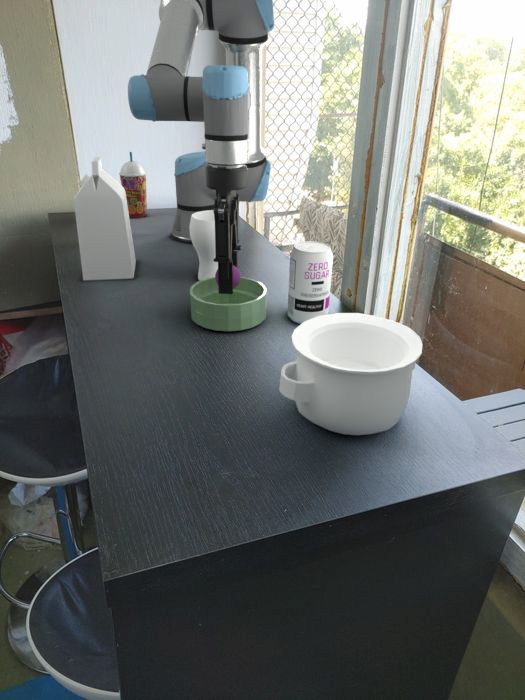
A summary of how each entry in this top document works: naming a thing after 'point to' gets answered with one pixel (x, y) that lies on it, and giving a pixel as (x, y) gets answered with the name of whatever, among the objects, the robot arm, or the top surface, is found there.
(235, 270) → the ball
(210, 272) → the cup
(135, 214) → the smoothie
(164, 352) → the top surface
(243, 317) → the bowl
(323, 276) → the supplement can
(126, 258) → the milk
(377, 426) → the pot
